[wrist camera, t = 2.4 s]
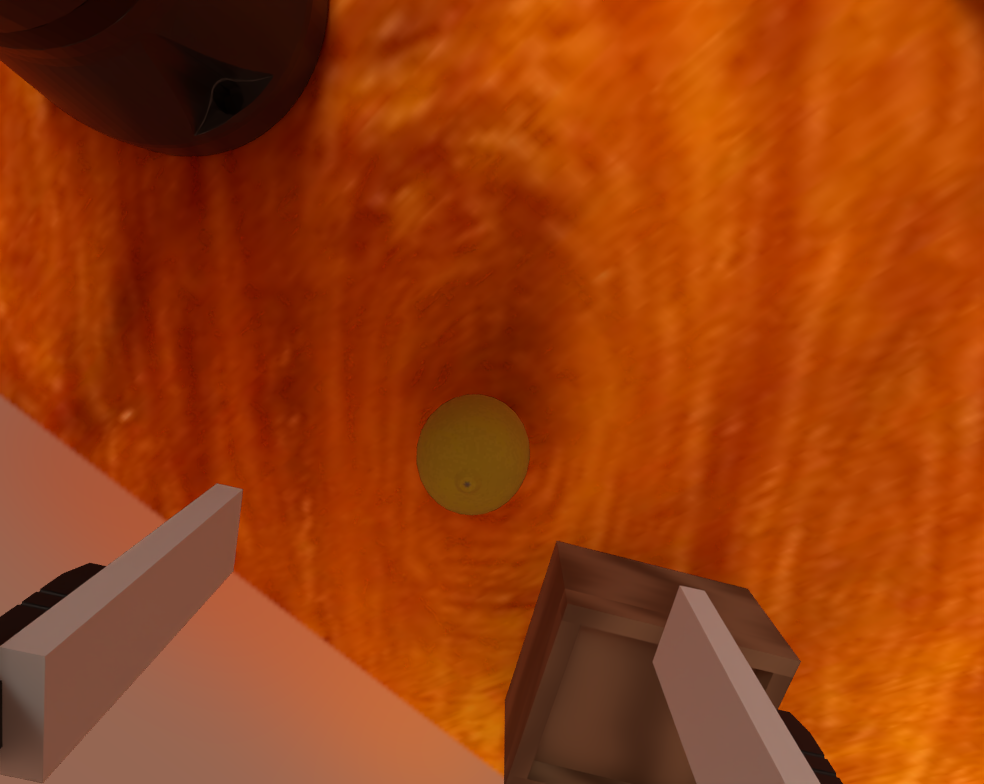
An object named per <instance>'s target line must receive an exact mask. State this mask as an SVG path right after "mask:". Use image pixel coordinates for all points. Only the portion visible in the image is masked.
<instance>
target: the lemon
mask: <svg viewBox="0 0 984 784" xmlns="http://www.w3.org/2000/svg"><path fill="white" fill-rule="evenodd" d="M529 459H530V449H529V439H528V436H527V433H526V430H525V427H524V425H523V423H522V422H521V420H520V419H519V417H518V416H517V414H516V413H515V412H514V411H513V410H512V409H511V408H510V407H508V406H507V405H506V404H505V403H503V402H501V401H499V400H497V399H495V398H493V397H489V396H485V395H481V394H467V395H463V396H459V397H456V398H453V399H451V400H449V401H448V402H446V403H444V404H442V405H441V406H440V407H439V408H438V409H437V410H436V411H435V412H433V413H432V414H431V415H430V417H429V418H428V420H427V422H426V423H425V425H424V427H423V428H422V430H421V434H420V437H419V441H418V444H417V467H418V471H419V475H420V479H421V481H422V483H423V485H424V487H425V489H426V490H427V492H428V493H429V494H430V496H431V497H432V498H433V499H434V500H435V501H436V502H437V503H438V504H440V505H441V506H443V507H445V508H446V509H448V510H450V511H453V512H456V513H459V514H465V515H478V514H485V513H488V512H490V511H493V510H496V509H498V508H499V507H501V506H502V505H504V504H505V503H507V502H508V501H509V500H510V499H511V498H512V496H513V495H514V494H515V493H516V492H517V491H518V489H519V488H520V486H521V484H522V482H523V480H524V478H525V476H526V473H527V469H528V464H529Z"/></svg>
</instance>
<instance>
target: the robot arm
mask: <svg viewBox="0 0 984 784" xmlns="http://www.w3.org/2000/svg"><path fill="white" fill-rule="evenodd" d="M327 12H328V0H0V60H1V61H2V62H3V63H4V64H6V65H7V66H8V67H9V68H11V69H12V70H13V71H14V72H15V73H17V74H18V75H19V76H20V77H22V78H23V79H24V80H25V81H27V82H28V83H29V84H30V85H31V86H33V87H34V88H35V89H36V90H38V91H39V92H40V93H41V94H43V95H44V96H45V97H46V98H48V99H49V100H50V101H51V102H52V103H54V104H55V105H56V106H57V107H59V108H60V109H61V110H63V111H64V112H66V113H67V114H68V115H70V116H72V117H73V118H75V119H76V120H78V121H80V122H81V123H83V124H85V125H87V126H89V127H90V128H92V129H94V130H96V131H98V132H100V133H102V134H105V135H107V136H109V137H112V138H114V139H117V140H120V141H123V142H126V143H129V144H132V145H135V146H138V147H142V148H145V149H148V150H151V151H155V152H159V153H164V154H169V155H177V156H204V155H212V154H217V153H222V152H225V151H229V150H232V149H235V148H237V147H240V146H242V145H244V144H246V143H248V142H250V141H252V140H254V139H256V138H257V137H259V136H260V135H262V134H263V133H265V132H266V131H267V130H269V129H270V128H271V127H273V126H274V125H275V124H276V123H277V122H278V121H279V120H280V119H281V118H282V117H283V116H284V115H285V114H286V113H287V112H288V111H289V110H290V108H291V107H292V106H293V105H294V103H295V102H296V101H297V99H298V98H299V96H300V95H301V93H302V92H303V90H304V88H305V86H306V85H307V83H308V81H309V79H310V77H311V75H312V73H313V70H314V68H315V65H316V63H317V60H318V57H319V54H320V51H321V47H322V43H323V39H324V34H325V28H326V22H327ZM242 494H243V489H240V488H236V487H231V486H227V485H222V484H218V483H217V484H216V485H214V486H213V487H212V488H210V489H209V490H208V491H206V492H205V493H204V494H202V495H201V496H200V497H198V498H197V499H196V500H194V501H193V502H192V503H190V504H189V505H188V506H186V507H185V508H184V509H182V510H181V511H180V512H178V513H177V514H176V515H174V516H173V517H172V518H170V519H169V520H168V521H166V522H165V523H164V524H162V525H161V526H160V527H158V528H157V529H156V530H154V531H153V532H152V533H150V534H149V535H148V536H146V537H145V538H144V539H142V540H141V541H140V542H138V543H137V544H136V545H134V546H133V547H132V548H130V549H129V550H128V551H126V552H125V553H124V554H122V555H121V556H120V557H118V558H117V559H116V560H114V561H113V562H112V563H110V564H109V565H108V566H102V565H98V564H93V563H88V564H86V565H83V566H81V567H78V568H76V569H73V570H71V571H68V572H66V573H63V574H61V575H60V576H58V577H57V578H56V579H54V580H53V581H51V582H50V583H48V584H47V585H45V586H44V587H43V588H41V590H40V592H35V593H34V594H32V595H31V596H30V597H28V598H27V599H25V600H24V601H23V602H22V604H21V605H17V606H15V607H14V608H12V609H11V610H9V611H8V612H7V613H5V614H4V615H2V616H1V617H0V774H1V775H5V776H10V777H15V778H20V779H25V780H30V781H35V782H39V783H43V782H44V781H45V780H46V779H47V778H48V777H49V776H50V775H51V773H52V772H53V771H54V770H55V769H56V768H57V767H58V766H59V764H61V762H62V761H63V760H64V759H65V758H66V757H67V756H68V755H69V754H70V752H71V751H72V750H73V749H74V748H75V747H76V746H77V745H78V743H79V742H80V741H81V740H82V739H83V738H84V736H86V734H87V733H88V732H89V731H90V730H91V729H92V728H93V727H94V726H95V724H96V723H97V722H98V721H99V720H100V719H101V718H102V717H103V716H104V715H105V713H106V712H107V711H108V710H109V709H110V708H111V707H112V706H113V705H114V703H115V702H116V701H117V700H118V699H119V698H120V697H121V696H122V695H123V693H124V692H125V691H126V690H127V689H128V688H129V687H130V686H131V685H132V683H133V682H134V681H135V680H136V679H137V678H138V677H139V676H140V674H141V673H142V672H143V671H144V670H145V669H146V668H147V667H148V665H149V664H150V663H151V662H152V661H153V660H154V659H155V658H156V657H157V656H158V654H159V653H160V652H161V651H162V650H163V649H164V648H165V647H166V645H167V644H168V643H169V642H170V641H171V640H172V639H173V638H174V636H176V634H177V633H178V632H179V631H180V630H181V629H182V628H183V627H184V626H185V624H186V623H187V622H188V621H189V620H190V619H191V618H192V617H193V615H194V614H195V613H196V612H197V611H198V610H199V609H200V608H201V607H202V605H203V604H204V603H205V602H206V601H207V600H208V599H209V598H210V597H211V595H212V594H213V593H214V592H215V591H216V590H217V589H218V588H219V586H220V585H221V584H222V583H223V582H224V581H225V580H226V579H227V577H228V576H229V575H230V574H231V573H232V572H233V571H234V562H235V554H236V545H237V536H238V528H239V519H240V511H241V502H242ZM653 665H654V668H655V670H656V673H657V676H658V679H659V681H660V684H661V687H662V690H663V692H664V695H665V698H666V701H667V704H668V706H669V709H670V712H671V715H672V717H673V720H674V723H675V726H676V728H677V731H678V734H679V737H680V740H681V742H682V745H683V748H684V751H685V753H686V756H687V759H688V762H689V764H690V767H691V770H692V773H693V775H694V778H695V781H696V784H843V783H842V782H841V780H840V779H839V778H837V777H836V772H835V771H834V769H833V768H832V766H831V765H830V763H829V761H828V760H827V759H825V758H824V754H823V752H822V751H821V749H820V747H819V746H818V744H817V743H816V741H815V740H814V738H813V737H812V735H811V733H810V732H809V731H808V730H807V729H806V728H805V727H804V726H803V725H802V724H801V723H800V722H799V721H798V720H797V719H796V718H795V717H794V716H793V715H792V714H791V713H790V712H786V711H782V710H777V709H775V707H774V705H773V704H772V702H771V700H770V699H769V697H768V695H767V694H766V692H765V690H764V689H763V687H762V685H761V684H760V682H759V680H758V679H757V677H756V675H755V674H754V672H753V670H752V669H751V667H750V665H749V664H748V662H747V660H746V659H745V657H744V655H743V654H742V652H741V650H740V649H739V647H738V645H737V644H736V642H735V640H734V639H733V637H732V635H731V634H730V632H729V630H728V629H727V627H726V625H725V624H724V622H723V620H722V619H721V617H720V615H719V614H718V612H717V610H716V609H715V607H714V605H713V604H712V602H711V600H710V599H709V597H708V595H707V594H706V592H705V591H703V590H699V589H694V588H689V587H685V586H679V589H678V592H677V595H676V597H675V600H674V603H673V606H672V609H671V611H670V614H669V617H668V620H667V623H666V625H665V628H664V631H663V634H662V636H661V639H660V642H659V645H658V648H657V650H656V653H655V656H654V659H653Z"/></svg>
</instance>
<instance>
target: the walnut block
mask: <svg viewBox="0 0 984 784" xmlns="http://www.w3.org/2000/svg"><path fill="white" fill-rule="evenodd" d="M679 586H685V587H689V588H694V589H699V590H703V591H705V592H706V594H707V595H708V597H709V599H710V600H711V602H712V604H713V605H714V607H715V609H716V610H717V612H718V614H719V615H720V617H721V619H722V620H723V622H724V624H725V625H726V627H727V629H728V630H729V632H730V634H731V635H732V637H733V639H734V640H735V642H736V644H737V645H738V647H739V649H740V650H741V652H742V654H743V655H744V657H745V659H746V660H747V662H748V664H749V665H750V667H751V669H752V670H753V672H754V674H755V675H756V677H757V679H758V680H759V682H760V684H761V685H762V687H763V689H764V690H765V692H766V694H767V695H768V697H769V699H770V700H771V702H772V704H773V705H774V707H775V709H777V710H778V707H779V705H780V703H781V701H782V699H783V697H784V695H785V693H786V691H787V689H788V687H789V685H790V683H791V681H792V679H793V677H794V675H795V672H796V670H797V668H798V666H799V664H800V662H801V661H800V660H799V658H798V657H797V656H796V654H795V653H794V652H793V650H792V649H791V647H790V646H789V645H788V643H787V642H786V641H785V639H784V638H783V637H782V635H781V634H780V632H779V631H778V630H777V628H776V627H775V626H774V624H773V623H772V622H771V620H770V619H769V617H768V616H767V615H766V613H765V612H764V611H763V609H762V608H761V607H760V605H759V604H758V602H757V601H756V600H755V598H754V597H753V596H752V594H751V593H750V591H749V590H748V589H746V588H742V587H738V586H734V585H730V584H726V583H722V582H718V581H714V580H710V579H706V578H702V577H698V576H694V575H690V574H686V573H682V572H678V571H675V570H671V569H667V568H663V567H659V566H655V565H651V564H647V563H643V562H639V561H635V560H631V559H627V558H623V557H619V556H615V555H611V554H607V553H603V552H599V551H595V550H591V549H587V548H583V547H579V546H575V545H571V544H567V543H564V542H560V541H557V542H556V545H555V548H554V551H553V554H552V557H551V560H550V563H549V566H548V569H547V572H546V575H545V579H544V582H543V585H542V588H541V591H540V594H539V597H538V600H537V603H536V606H535V609H534V613H533V616H532V619H531V622H530V625H529V628H528V631H527V634H526V637H525V640H524V643H523V646H522V650H521V653H520V656H519V659H518V662H517V665H516V668H515V671H514V674H513V677H512V680H511V683H510V687H509V690H508V693H507V696H506V699H505V758H504V784H696V781H695V778H694V775H693V773H692V770H691V767H690V764H689V762H688V759H687V756H686V753H685V751H684V748H683V745H682V742H681V740H680V737H679V734H678V731H677V728H676V726H675V723H674V720H673V717H672V715H671V712H670V709H669V706H668V704H667V701H666V698H665V695H664V692H663V690H662V687H661V684H660V681H659V679H658V676H657V673H656V670H655V668H654V665H653V659H654V656H655V653H656V650H657V648H658V645H659V642H660V639H661V636H662V634H663V631H664V628H665V625H666V623H667V620H668V617H669V614H670V611H671V609H672V606H673V603H674V600H675V597H676V595H677V592H678V589H679Z"/></svg>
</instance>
